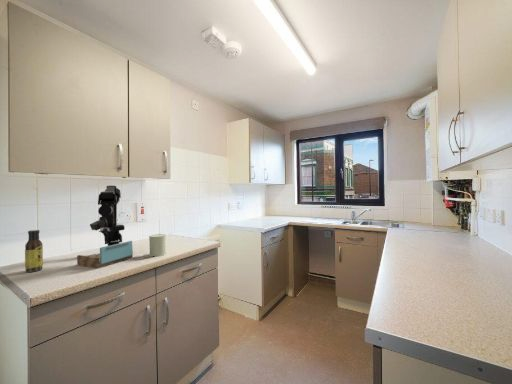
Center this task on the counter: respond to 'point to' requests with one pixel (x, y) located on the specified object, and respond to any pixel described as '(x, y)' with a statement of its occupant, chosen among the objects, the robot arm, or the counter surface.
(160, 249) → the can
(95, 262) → the flatbed
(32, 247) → the sauce bottle
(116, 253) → the teal flat rectangular block
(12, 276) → the counter surface
